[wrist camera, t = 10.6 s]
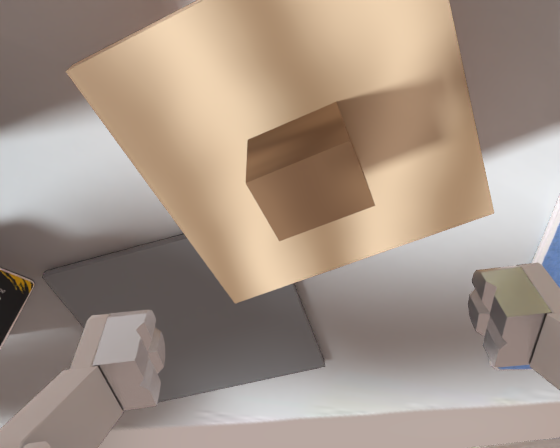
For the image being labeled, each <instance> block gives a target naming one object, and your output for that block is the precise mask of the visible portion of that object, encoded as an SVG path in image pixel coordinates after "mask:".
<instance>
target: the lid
mask: <svg viewBox="0 0 560 448" xmlns="http://www.w3.org/2000/svg"><path fill="white" fill-rule="evenodd" d="M66 73H67V74H68V76H69V77H70V78H71V80H72V81H73V83H74V84H75V85H76V87H77V88H78V89H79V91H80V92H81V93H82V95H83V96H84V98H85V99H86V100H87V102H88V103H89V104H90V106H91V107H92V109H93V110H94V111H95V113H96V114H97V115H98V117H99V118H100V119H101V121H102V122H103V124H104V125H105V126H106V128H107V129H108V130H109V132H110V133H111V135H112V136H113V137H114V139H115V140H116V141H117V143H118V144H119V145H120V147H121V148H122V150H123V151H124V152H125V154H126V155H127V156H128V158H129V159H130V161H131V162H132V163H133V165H134V166H135V167H136V169H137V170H138V171H139V173H140V174H141V176H142V177H143V178H144V180H145V181H146V182H147V184H148V185H149V187H150V188H151V189H152V191H153V192H154V193H155V195H156V196H157V198H158V199H159V200H160V202H161V203H162V204H163V206H164V207H165V208H166V210H167V211H168V213H169V214H170V215H171V217H172V218H173V219H174V221H175V222H176V224H177V225H178V226H179V228H180V229H181V230H182V232H183V233H184V234H185V236H186V237H187V239H188V240H189V241H190V243H191V244H192V245H193V247H194V248H195V250H196V251H197V252H198V254H199V255H200V256H201V258H202V259H203V260H204V262H205V263H206V265H207V266H208V267H209V269H210V270H211V271H212V273H213V274H214V276H215V277H216V278H217V280H218V281H219V282H220V284H221V285H222V287H223V288H224V289H225V291H226V292H227V293H228V295H229V296H230V297H231V299H232V300H233V302H234V303H238V302H241V301H244V300H247V299H250V298H253V297H255V296H258V295H261V294H264V293H267V292H270V291H273V290H276V289H278V288H281V287H284V286H287V285H290V284H293V283H296V282H298V281H301V280H304V279H307V278H310V277H313V276H316V275H319V274H321V273H324V272H327V271H330V270H333V269H336V268H339V267H341V266H344V265H347V264H350V263H353V262H356V261H359V260H362V259H364V258H367V257H370V256H373V255H376V254H379V253H382V252H384V251H387V250H390V249H393V248H396V247H399V246H402V245H405V244H407V243H410V242H413V241H416V240H419V239H422V238H425V237H427V236H430V235H433V234H436V233H439V232H442V231H445V230H448V229H450V228H453V227H456V226H459V225H462V224H465V223H468V222H471V221H473V220H476V219H479V218H482V217H485V216H488V215H491V214H493V213H494V210H493V205H492V200H491V196H490V191H489V186H488V181H487V177H486V172H485V167H484V163H483V158H482V153H481V148H480V144H479V139H478V134H477V130H476V125H475V120H474V116H473V111H472V106H471V101H470V97H469V92H468V87H467V83H466V78H465V73H464V68H463V64H462V59H461V54H460V50H459V45H458V40H457V35H456V31H455V26H454V21H453V17H452V12H451V7H450V2H449V0H197V1H195V2H193V3H191V4H189V5H187V6H185V7H183V8H181V9H179V10H177V11H175V12H174V13H172V14H170V15H168V16H166V17H164V18H162V19H160V20H158V21H156V22H154V23H152V24H150V25H148V26H146V27H145V28H143V29H141V30H139V31H137V32H135V33H133V34H131V35H129V36H127V37H125V38H123V39H121V40H119V41H117V42H115V43H114V44H112V45H110V46H108V47H106V48H104V49H102V50H100V51H98V52H96V53H94V54H92V55H90V56H88V57H86V58H85V59H83V60H81V61H79V62H77V63H75V64H73V65H72V66H71V67H70V68H69V69H68V70H67V71H66Z"/></svg>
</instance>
